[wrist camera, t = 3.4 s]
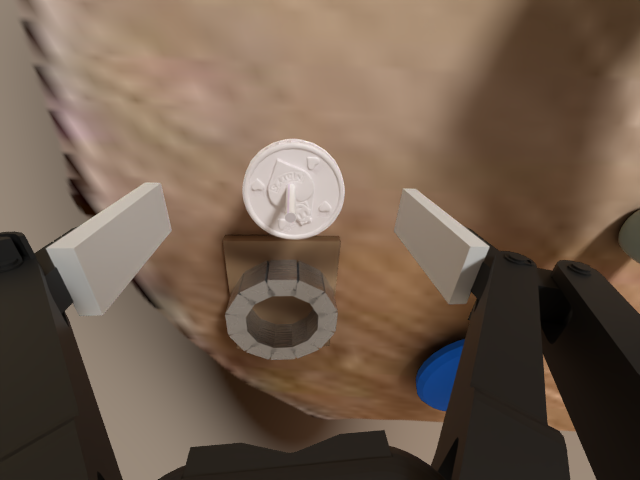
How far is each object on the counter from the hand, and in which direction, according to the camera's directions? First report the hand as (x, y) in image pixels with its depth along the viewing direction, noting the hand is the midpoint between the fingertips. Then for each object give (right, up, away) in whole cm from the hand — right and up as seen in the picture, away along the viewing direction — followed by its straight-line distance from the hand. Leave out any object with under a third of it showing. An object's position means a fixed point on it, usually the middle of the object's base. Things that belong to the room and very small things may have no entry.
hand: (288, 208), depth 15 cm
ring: (-2, -9, +16) cm, 19 cm away
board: (-3, -8, +18) cm, 20 cm away
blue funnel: (+23, -20, +28) cm, 42 cm away
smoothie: (-1, +6, +10) cm, 12 cm away
